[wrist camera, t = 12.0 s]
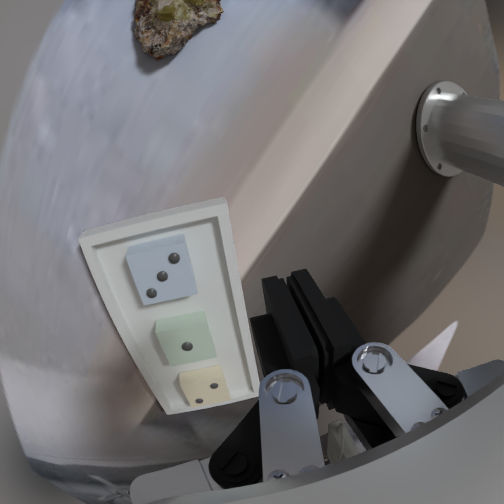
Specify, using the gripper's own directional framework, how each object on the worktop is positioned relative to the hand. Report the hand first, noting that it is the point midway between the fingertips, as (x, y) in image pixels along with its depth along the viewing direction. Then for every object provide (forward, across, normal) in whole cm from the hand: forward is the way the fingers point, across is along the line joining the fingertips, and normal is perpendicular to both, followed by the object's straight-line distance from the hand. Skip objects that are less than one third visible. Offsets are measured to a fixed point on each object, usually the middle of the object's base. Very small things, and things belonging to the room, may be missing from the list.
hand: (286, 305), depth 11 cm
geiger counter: (+18, -12, +58) cm, 62 cm away
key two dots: (+16, +8, +24) cm, 30 cm away
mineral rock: (+18, +2, -18) cm, 26 cm away
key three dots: (+16, +8, +6) cm, 19 cm away
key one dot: (+16, +8, +15) cm, 24 cm away
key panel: (+17, +8, +15) cm, 24 cm away
